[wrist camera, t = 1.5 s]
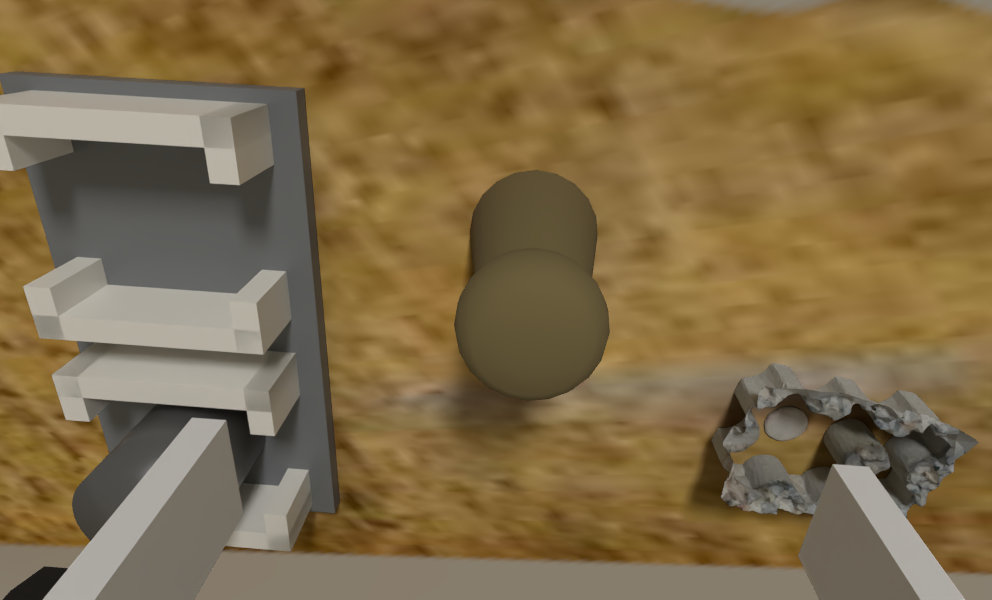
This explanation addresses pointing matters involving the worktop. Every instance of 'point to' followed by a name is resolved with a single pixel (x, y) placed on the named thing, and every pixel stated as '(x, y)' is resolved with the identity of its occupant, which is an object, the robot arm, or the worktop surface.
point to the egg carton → (835, 444)
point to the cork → (532, 289)
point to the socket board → (182, 281)
